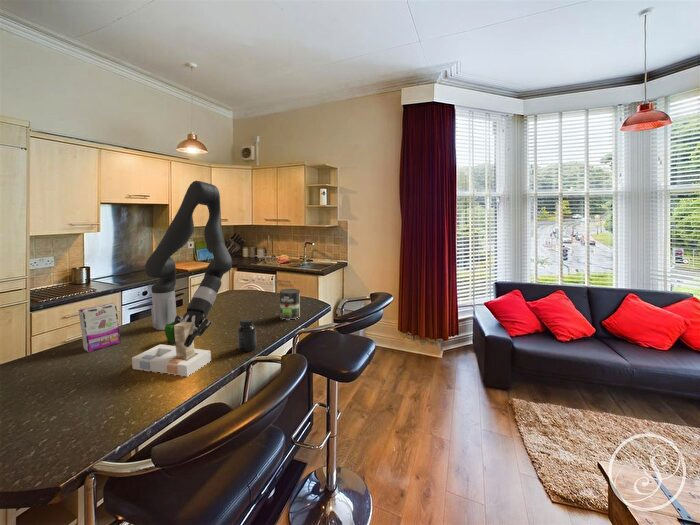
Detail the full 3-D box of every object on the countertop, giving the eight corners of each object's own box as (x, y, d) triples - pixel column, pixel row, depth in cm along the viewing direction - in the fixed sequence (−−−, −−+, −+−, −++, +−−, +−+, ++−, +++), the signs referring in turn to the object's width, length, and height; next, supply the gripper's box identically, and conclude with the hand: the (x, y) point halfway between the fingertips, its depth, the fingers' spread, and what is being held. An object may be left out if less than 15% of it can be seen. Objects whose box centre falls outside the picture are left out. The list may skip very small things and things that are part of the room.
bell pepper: (176, 346, 129) (174, 322, 127) (161, 343, 132) (159, 320, 130) (193, 339, 137) (191, 316, 135) (178, 336, 139) (177, 314, 138)
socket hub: (131, 369, 110) (130, 357, 109) (160, 354, 122) (159, 343, 121) (186, 377, 105) (185, 365, 104) (211, 361, 117) (210, 349, 116)
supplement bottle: (249, 344, 132) (248, 316, 131) (260, 348, 129) (259, 319, 127) (234, 349, 127) (233, 320, 125) (246, 354, 123) (244, 324, 121)
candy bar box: (115, 340, 134) (111, 302, 132) (121, 343, 132) (117, 304, 129) (82, 349, 125) (77, 309, 122) (88, 352, 122) (83, 311, 120)
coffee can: (296, 321, 161) (296, 293, 159) (277, 319, 163) (276, 292, 161) (302, 314, 171) (302, 289, 169) (284, 313, 173) (283, 288, 171)
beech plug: (176, 358, 110) (173, 325, 108) (185, 353, 114) (182, 321, 112) (186, 360, 109) (183, 326, 107) (194, 355, 113) (192, 322, 111)
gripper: (180, 295, 117) (156, 339, 108) (214, 297, 114) (192, 343, 104) (191, 305, 123) (169, 347, 114) (224, 307, 120) (204, 352, 110)
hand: (180, 345), depth 109 cm, fingers closed on beech plug, 4 cm apart
